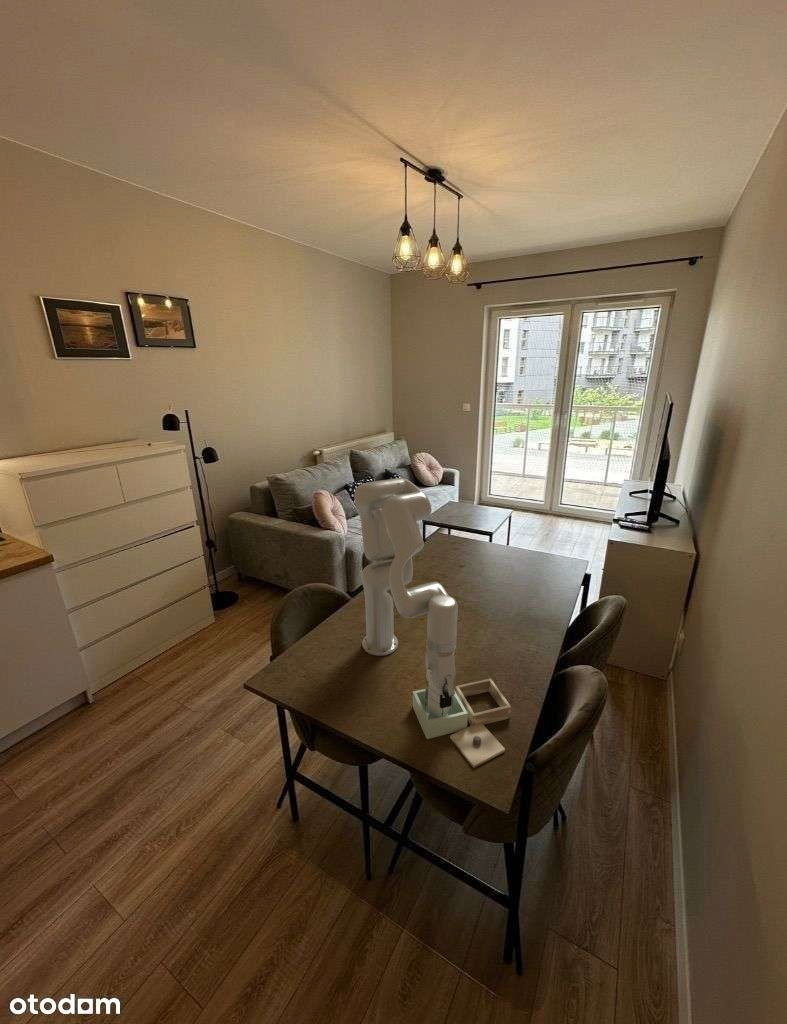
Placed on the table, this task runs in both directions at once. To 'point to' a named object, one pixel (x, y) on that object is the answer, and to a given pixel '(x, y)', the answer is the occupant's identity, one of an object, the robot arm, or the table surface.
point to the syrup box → (434, 697)
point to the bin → (442, 725)
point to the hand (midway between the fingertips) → (439, 695)
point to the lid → (477, 744)
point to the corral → (488, 715)
